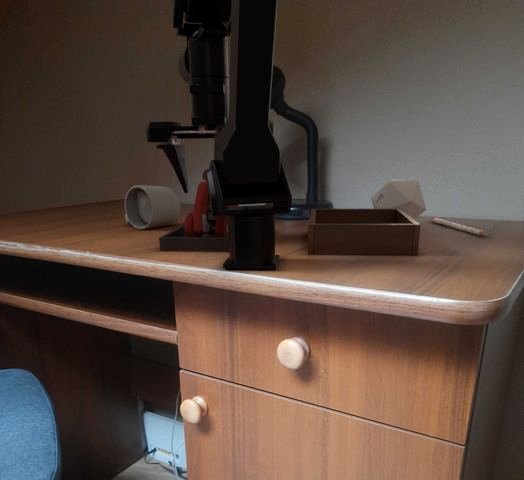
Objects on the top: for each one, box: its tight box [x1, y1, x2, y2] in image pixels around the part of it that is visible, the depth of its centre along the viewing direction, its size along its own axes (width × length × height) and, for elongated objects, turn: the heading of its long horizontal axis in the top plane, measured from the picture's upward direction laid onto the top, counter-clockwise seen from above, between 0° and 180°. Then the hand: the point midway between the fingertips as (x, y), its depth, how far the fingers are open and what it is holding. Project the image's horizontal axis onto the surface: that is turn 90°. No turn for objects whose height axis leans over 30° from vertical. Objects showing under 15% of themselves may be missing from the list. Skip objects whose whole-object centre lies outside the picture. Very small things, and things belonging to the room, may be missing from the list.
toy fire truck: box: [184, 168, 239, 237], centre depth 77 cm, size 7×12×10 cm, turn 155°
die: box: [370, 178, 427, 221], centre depth 88 cm, size 8×9×10 cm
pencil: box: [430, 217, 488, 236], centre depth 86 cm, size 1×19×1 cm, turn 8°
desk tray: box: [158, 223, 229, 252], centre depth 79 cm, size 19×13×2 cm
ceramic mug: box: [124, 184, 182, 231], centre depth 93 cm, size 11×8×8 cm
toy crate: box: [307, 208, 422, 256], centre depth 74 cm, size 19×15×4 cm
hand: (215, 192), depth 77 cm, fingers open, 9 cm apart
